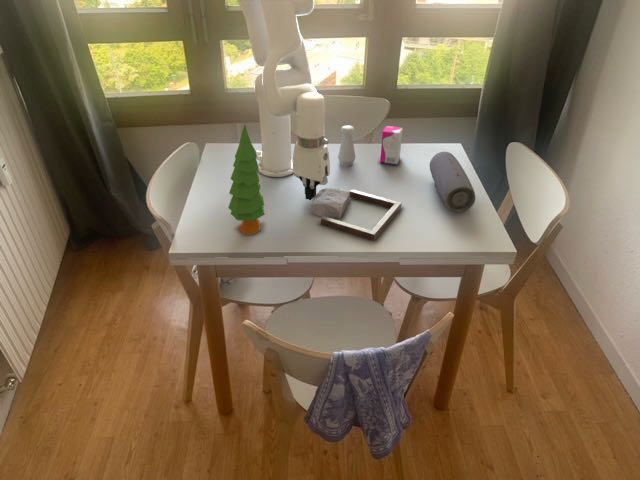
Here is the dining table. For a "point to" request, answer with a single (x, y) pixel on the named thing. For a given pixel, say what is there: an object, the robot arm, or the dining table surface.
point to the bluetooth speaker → (452, 182)
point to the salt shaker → (347, 146)
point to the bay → (361, 231)
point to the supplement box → (391, 145)
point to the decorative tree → (246, 187)
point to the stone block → (330, 202)
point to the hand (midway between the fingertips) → (310, 197)
